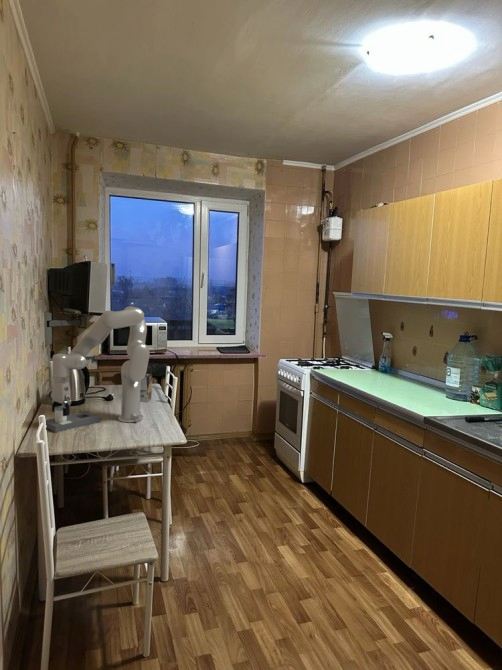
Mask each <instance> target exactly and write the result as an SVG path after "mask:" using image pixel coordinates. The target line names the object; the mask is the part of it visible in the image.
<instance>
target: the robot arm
mask: <svg viewBox="0 0 502 670" xmlns="http://www.w3.org/2000/svg"><path fill="white" fill-rule="evenodd" d="M127 327H128V328H129V336H128V342H127V345H126V354H127V355H128V356H129V359H128V360H126V361H125V362H123V364H122V365H121V367H120V376H121V377H120V378H121V412H120V415H119V416H118V417H117V418H118V421H120V422H123V423H137V422H140V421H142V420H143V418H144V415H143V414H142V413H141V402H140V381H141V380H142V379H143V378H144V377H145V375H146V373H147V370H148V365H149V361H150V360H149V359H150V349H149V346H148V345H147V344H146V338H147V332H148V326H147V322H146V319H145V313H144V311H143V310H142V308H139V307H135V306H132V305H131V306H127V307H125V308H124V309H123V310H118V311H117V310H116V311H114V310H106V311H104V312H102V314H101V315H100V317H98V319H97V320H96V322H94V324H93V325H92V327H91V328H90V329H89V331H88V332H87V333H86V334H85V335H84V336H83V337H82V338H81V339H80V340H79V341H78V343H77V344H76V345H75V346H74V347H73V348H72V350H71V351H70V353H69V354H66V353H57V354H53V356H52V366H51V368H52V371H51V372H52V374H51V375H52V379H51V380H52V387H51V388H52V389H51V393H50V394H49V395H50V401H51V412H52V413H55V407H58V406H60V404H61V406H63V407H64V408H63V416H68V415H70V410H71V409H70V408H71V404H72V394H71V393H72V392H71V384H70V370H82V369H84V368H86V366H87V361H88V360H87V355H89V353H90V352H91V351H92V350H93V349H94V348H96V347H97V346H100V345H101V344H102V343H104V341H106V338H107V337H108V336H109V334H110V333H111V332H112V330H113V329H122V328H127Z"/></svg>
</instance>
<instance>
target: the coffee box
mask: <svg viewBox="0 0 502 670" xmlns="http://www.w3.org/2000/svg"><path fill="white" fill-rule="evenodd" d="M152 392H153V374H152V373H147V372H146V375H145V377H144V378H143V379H142V380H141V381H140V403H141V402H143V403H148V402H149V401H150V400H152V394H153V393H152Z"/></svg>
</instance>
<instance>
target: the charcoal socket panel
mask: <svg viewBox="0 0 502 670" xmlns="http://www.w3.org/2000/svg"><path fill="white" fill-rule="evenodd" d="M100 422H101V416H100V415H98V414H95V413H92V412H89V411H82V412H78V413H72V414H69V415H68V416H67V421H65V422H61V423H59V424H58V423H56V422H55V417H54V418H49V419H46V425H47V428H48V429H50V430H49V431H51V430H52V431H51V432H53V431H54V432H53V433H55V432H56V433H60V432H63V430H64V431H67V429H69V430H72V429H71V428H73V429H76V427H77V428H80V427H85V426H89V425H92V424H97V423H100ZM48 429H47V430H48ZM59 431H60V432H59Z"/></svg>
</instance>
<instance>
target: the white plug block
mask: <svg viewBox="0 0 502 670" xmlns="http://www.w3.org/2000/svg"><path fill="white" fill-rule="evenodd" d="M63 408H64V407H63V405H59V406H58V407H55V412H54V418H55V422H56V423H58V424H59V423H61V422H65V421H67V416H63Z"/></svg>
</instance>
